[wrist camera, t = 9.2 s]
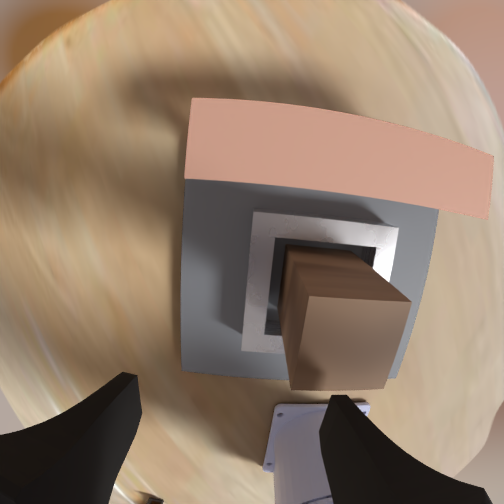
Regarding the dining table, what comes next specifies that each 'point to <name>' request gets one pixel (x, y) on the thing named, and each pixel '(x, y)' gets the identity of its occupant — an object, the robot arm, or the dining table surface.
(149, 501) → the brown figurine
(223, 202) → the socket board
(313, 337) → the walnut peg
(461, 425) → the dining table surface
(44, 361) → the dining table surface
